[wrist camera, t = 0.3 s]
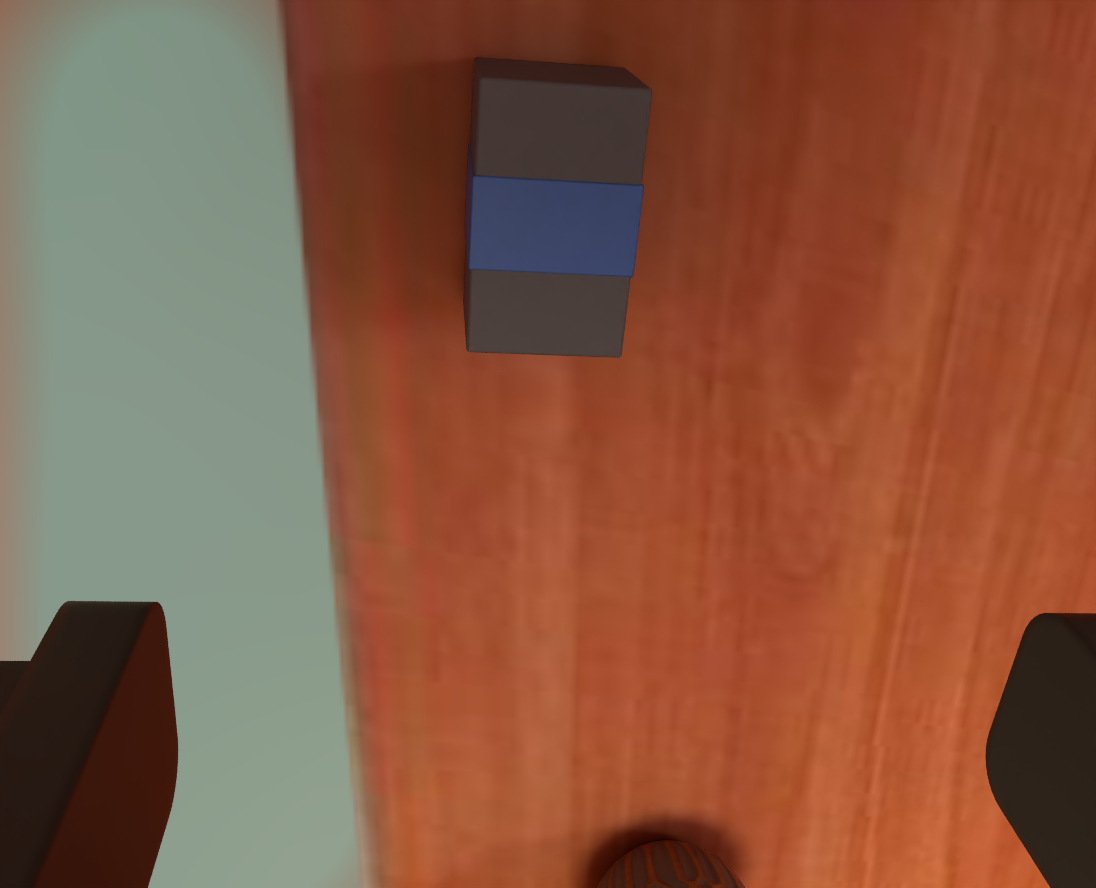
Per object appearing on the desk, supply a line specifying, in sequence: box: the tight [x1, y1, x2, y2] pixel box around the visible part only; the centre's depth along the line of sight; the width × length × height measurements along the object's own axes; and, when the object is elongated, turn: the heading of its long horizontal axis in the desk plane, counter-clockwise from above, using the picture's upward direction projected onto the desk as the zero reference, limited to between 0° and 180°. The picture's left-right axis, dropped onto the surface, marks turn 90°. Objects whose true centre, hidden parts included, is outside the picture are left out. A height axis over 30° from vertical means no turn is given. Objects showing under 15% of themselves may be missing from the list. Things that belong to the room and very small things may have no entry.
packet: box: [463, 57, 652, 358], centre depth 28 cm, size 7×4×4 cm, turn 176°
